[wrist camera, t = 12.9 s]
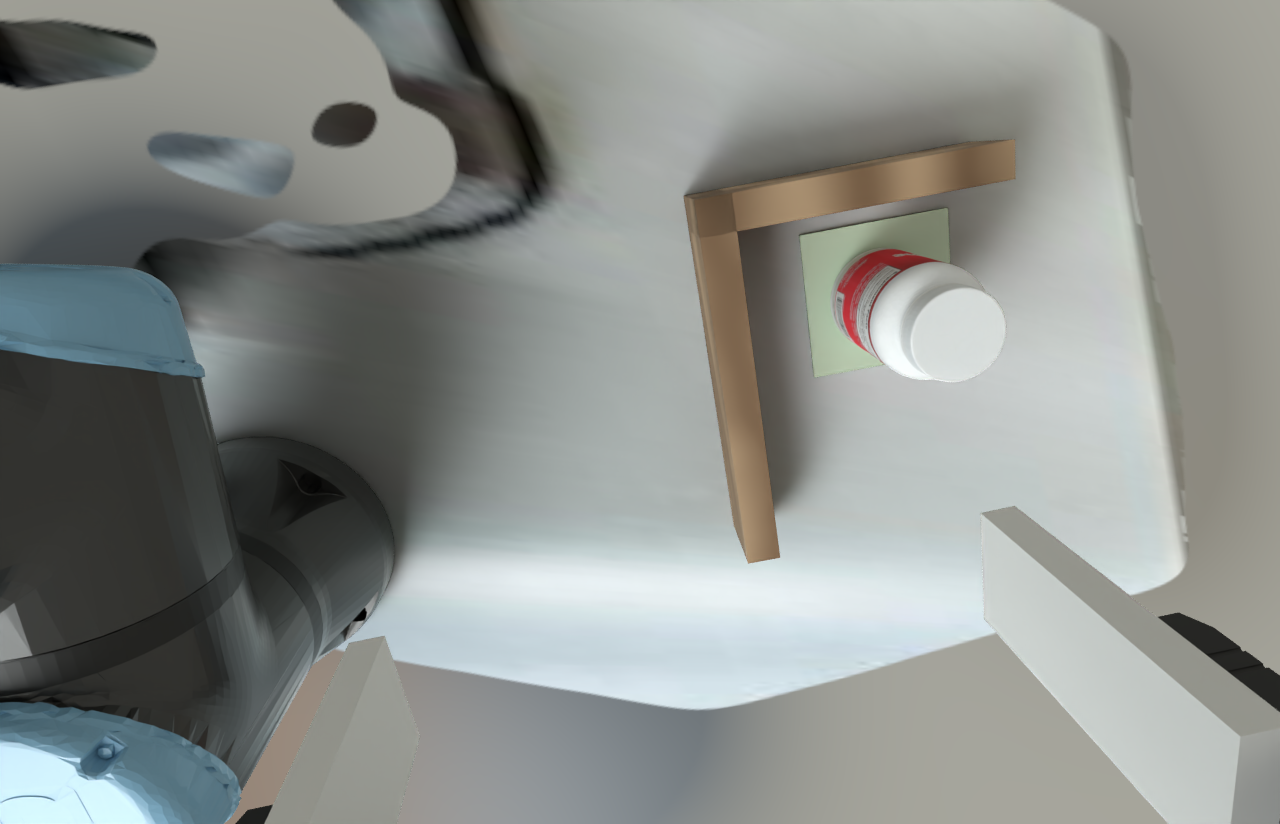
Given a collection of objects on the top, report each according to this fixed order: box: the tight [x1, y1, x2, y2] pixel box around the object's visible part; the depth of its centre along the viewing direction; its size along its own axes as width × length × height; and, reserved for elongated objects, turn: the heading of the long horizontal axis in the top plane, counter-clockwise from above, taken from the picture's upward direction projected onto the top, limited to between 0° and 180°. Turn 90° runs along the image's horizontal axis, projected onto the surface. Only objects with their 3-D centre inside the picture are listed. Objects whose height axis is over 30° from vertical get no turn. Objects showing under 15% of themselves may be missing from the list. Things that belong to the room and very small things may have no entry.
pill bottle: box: [830, 248, 1007, 382], centre depth 40 cm, size 6×6×11 cm
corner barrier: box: [684, 139, 1015, 563], centre depth 44 cm, size 17×22×5 cm
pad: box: [799, 208, 950, 378], centre depth 46 cm, size 9×9×1 cm
